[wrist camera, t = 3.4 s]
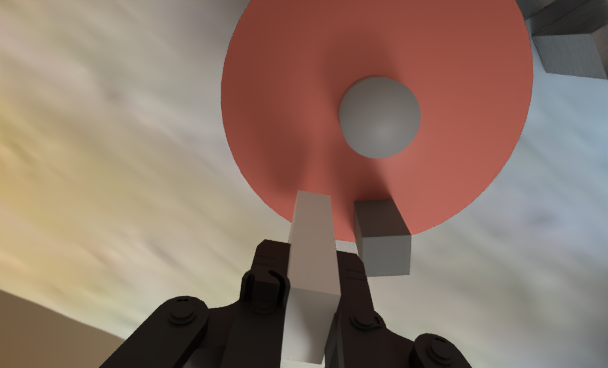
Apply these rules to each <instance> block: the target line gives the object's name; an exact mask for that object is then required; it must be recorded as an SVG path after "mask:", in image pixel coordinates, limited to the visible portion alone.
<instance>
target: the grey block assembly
mask: <svg viewBox="0 0 608 368" xmlns="http://www.w3.org/2000/svg"><path fill="white" fill-rule="evenodd" d="M515 1H516V3H517V5H518V7H519V9H520V11H521V13H522V16H523V19H524V21H525V20H526V19H528V18H529V17H531V16H532V15H534V14H535V13H537V12H538V11H540V10H542V9H543V8H545V7H546V6H548V5H549V4H551V3H552V2H554V1H555V0H515ZM532 38H533V41H534V43H535V45H536V48H537V50H538V53H539V55H540V58H541V60H542V63H543V65H544V67H545V70H546V72H547V73H553V74H562V75H571V76H580V77H589V78H598V79H607V80H608V0H589V1H587V2H586V3H584V4H582V5H581V6H579V7H578V8H576V9H575V10H573V11H571V12H570V13H568V14H567V15H565V16H563V17H562V18H560V19H559V20H557V21H556V22H554V23H552V24H551V25H549V26H548V27H546V28H545V29H543V30H541V31H540V32H538V33H537V34H535V35H533V36H532Z"/></svg>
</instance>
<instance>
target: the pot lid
mask: <svg viewBox="0 0 608 368" xmlns="http://www.w3.org/2000/svg"><path fill="white" fill-rule="evenodd" d="M532 84H533V58H532V51H531V45H530V39H529V34H528V31H527V28H526V25H525V22H524V19H523V16H522V13H521V11H520V9H519V7H518V5H517V3H516V1H515V0H251V1H250V3H249V5H248V6H247V8H246V10H245V11H244V13H243V15H242V16H241V18H240V20H239V22H238V24H237V26H236V29H235V31H234V34H233V36H232V38H231V41H230V44H229V47H228V51H227V54H226V58H225V62H224V68H223V75H222V82H221V109H222V118H223V125H224V129H225V133H226V137H227V141H228V144H229V147H230V149H231V152H232V155H233V157H234V160H235V162H236V164H237V165H238V167H239V169H240V171H241V173H242V175H243V176H244V178H245V179H246V181H247V182H248V183H249V185H250V186H251V188H252V189H253V190H254V191H255V192H256V194H257V195H258V196H259V197H260V198H261V199H262V200H263V201H264V202H265V203H266V204H267V205H268V206H269V207H270V208H272V209H273V210H274V211H275V212H276V213H278V214H279V215H280V216H282V217H283V218H285V219H287V220H288V221H290V222H291V223H292V219H293V214H294V209H295V203H296V198H297V193H298V190H300V191H306V192H312V193H317V194H323V195H329V196H330V198H331V207H332V217H333V226H334V235H335V239H336V240H341V241H350V242H356V245H357V250H358V255H359V258H360V259H361V260H362V262H363V263H364V267H365V272H366V276H367V277H376V276H397V275H410V254H411V235H414V234H417V233H420V232H423V231H425V230H427V229H430V228H432V227H434V226H436V225H438V224H440V223H442V222H444V221H445V220H447V219H449V218H450V217H452V216H454V215H455V214H457V213H458V212H460V211H461V210H462V209H464V208H465V207H466V206H468V205H469V204H470V203H471V202H473V201H474V200H475V199H476V198H477V197H478V196H479V195H480V194H481V193H482V192H483V191H484V190H485V189H486V188H487V187H488V186H489V185H490V183H491V182H492V181H493V180H494V179H495V178H496V176H497V175H498V174H499V172H500V171H501V169H502V168H503V166H504V165H505V163H506V162H507V160H508V159H509V157H510V156H511V154H512V152H513V150H514V148H515V146H516V144H517V142H518V140H519V137H520V135H521V132H522V129H523V127H524V124H525V121H526V118H527V114H528V109H529V105H530V101H531V93H532Z"/></svg>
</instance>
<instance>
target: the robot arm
mask: <svg viewBox="0 0 608 368" xmlns="http://www.w3.org/2000/svg"><path fill="white" fill-rule="evenodd" d="M324 354H325V368H472V367H471V366H470V364H469V363H468V362H467V360H466V359H465V357H464V356H463V355H462V353H461V352H460V351H459V350H458V349H457V348H456V347H455V345H454V344H452V343H451V342H449V341H448V340H447V339H445V338H443V337H441V336H438V335H436V334H429V333H425V334H421V335H419V336H418V337H417V338H416V339H415V341H411V340H409V339H407V338H404V337H402V336H399V335H397V334H395V333H393V332H392V331H390V330H389V329H387V328H386V324H385V322H384V320H383V318H382V317H381V316H380V315H379V314H378V313H377V312H376V311H374V307H373V302H372V298H371V294H370V289H369V285H368V282H367V276H366V272H365V267H364V263H363V262H362V260H361V259H360V258H359V257H358V255H357V254H354V253H348V252H342V251H337V250H336V245H335V235H334V226H333V217H332V207H331V198H330V196H329V195H323V194H317V193H312V192H306V191H300V190H298V193H297V198H296V203H295V209H294V214H293V219H292V224H291V230H290V235H289V240H288V243H284V242H278V241H272V240H266V239H265V240H263V241H262V242H261V243H260V244H259V245H258V246H257V248H256V252H255V256H254V259H253V263H252V266H251V270H249V271H247V272H246V273H245V274H244V276H243V278H242V283H241V290H240V298H239V300H238V301H236V302H235V303H233V304H231V305H228V306H225V307H219V308H210V309H208V307H207V306H206V304H205V303H204V302H203V301H202V300H200V299H198V298H196V297H191V296H179V297H175V298H172V299H169V300H167V301H166V302H164V303H163V304H161V305H160V306H159V307H158V308H157V309H156V310H155V311H154V312H153V313H152V314H151V315H150V316H149V317H148V318H147V319H146V320H145V321H144V322H143V323H142V324H141V325H140V326H139V327H138V328H137V329H136V330H135V331H134V332H133V333H132V335H131V336H130V337H129V338H128V339H127V340H126V341H125V342H124V343H123V344H122V345H121V346H120V347H119V348H118V349H117V350H116V351H115V352H114V353H113V354H112V355H111V356H110V357H109V358H108V359H107V360H106V361H105V362H104V363H103V364H102V365H101V366H100V367H99V368H280V362H281V358H282V359H288V360H295V361H301V362H308V363H314V364H322V361H323V357H324Z"/></svg>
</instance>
